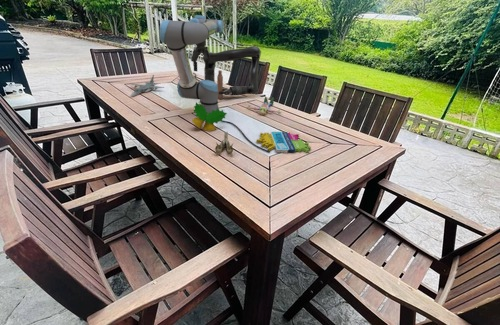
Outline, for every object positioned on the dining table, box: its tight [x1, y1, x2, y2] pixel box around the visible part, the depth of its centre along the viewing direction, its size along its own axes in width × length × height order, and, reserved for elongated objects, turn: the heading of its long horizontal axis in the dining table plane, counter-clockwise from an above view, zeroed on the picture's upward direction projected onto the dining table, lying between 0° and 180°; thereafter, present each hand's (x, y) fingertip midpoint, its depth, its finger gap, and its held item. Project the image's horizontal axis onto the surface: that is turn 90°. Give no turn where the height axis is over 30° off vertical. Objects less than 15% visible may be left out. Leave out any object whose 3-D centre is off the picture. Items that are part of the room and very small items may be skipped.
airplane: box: [130, 74, 165, 97], centre depth 228 cm, size 38×32×10 cm
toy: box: [246, 95, 283, 116], centre depth 203 cm, size 28×7×30 cm
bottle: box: [216, 69, 224, 100], centre depth 219 cm, size 4×4×23 cm
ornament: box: [191, 102, 228, 132], centre depth 162 cm, size 21×8×15 cm, turn 105°
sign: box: [256, 131, 312, 154], centre depth 152 cm, size 26×2×30 cm
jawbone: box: [214, 131, 234, 156], centre depth 136 cm, size 9×15×10 cm
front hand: (201, 70), depth 200 cm, fingers open, 13 cm apart
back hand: (217, 91), depth 221 cm, fingers open, 7 cm apart
